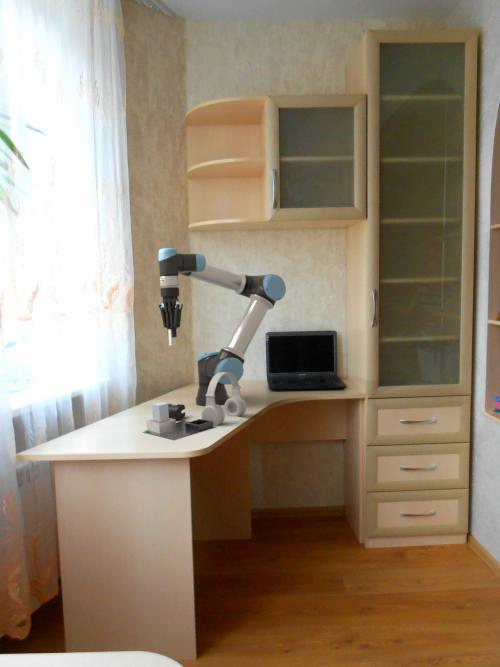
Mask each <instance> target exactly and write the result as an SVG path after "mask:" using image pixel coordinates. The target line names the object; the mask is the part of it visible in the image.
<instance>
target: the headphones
mask: <svg viewBox="0 0 500 667" xmlns="http://www.w3.org/2000/svg"><path fill="white" fill-rule="evenodd" d="M223 375H226V376H228V378H229V379H230V381H231V396H230V397H229V399H228V400H227V401H226V402H225V404H223V405H224V408H223V407H222V405H221V406H220V405H216V404H215V395H214V394H215V389H216V386H217V383H218V381H219V380H220V378H221V377H222V376H223ZM241 388H242V387H241V385H240V384H239V381H237V379H236V377H235V376H234V375H233V374H232V373H228V372H219V373H217V374H216V375H215V376H214V377H213V378H212V380H211V382H210V384H209V387H208V390H207V394H206V395H205V396H206V406H204V407H203V409H202V411H201V419H203V420H208V421H213V426H214V427H218V426H220V425H221V424H223V422H224V421H225V417H226V415H227V416H228V417H238V418H239V417H242V416H244V414H245V413H246V411H247V403H246V401H245V400H244V398H243V397H242V394H241Z"/></svg>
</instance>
